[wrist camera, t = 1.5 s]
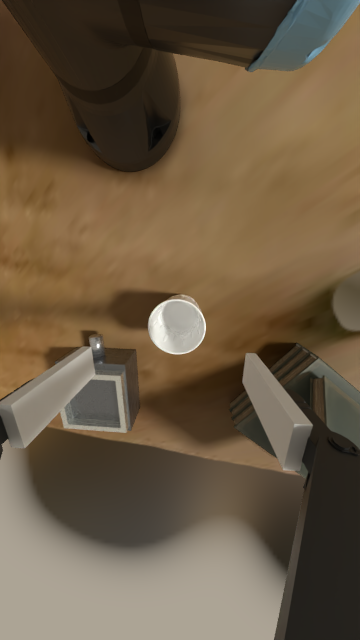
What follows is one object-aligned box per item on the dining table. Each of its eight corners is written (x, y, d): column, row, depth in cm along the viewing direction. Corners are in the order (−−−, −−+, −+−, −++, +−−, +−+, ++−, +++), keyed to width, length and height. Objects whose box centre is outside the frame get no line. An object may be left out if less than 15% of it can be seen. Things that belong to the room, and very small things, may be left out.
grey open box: (73, 329, 35) (42, 344, 28) (134, 331, 34) (119, 347, 27) (87, 403, 40) (64, 432, 33) (140, 407, 39) (128, 437, 32)
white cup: (167, 334, 34) (156, 359, 24) (156, 296, 32) (140, 306, 22) (205, 326, 32) (211, 348, 23) (196, 286, 30) (198, 292, 21)
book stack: (372, 406, 35) (759, 694, 11) (297, 455, 40) (454, 725, 16) (296, 341, 32) (594, 539, 8) (227, 402, 37) (289, 634, 13)
